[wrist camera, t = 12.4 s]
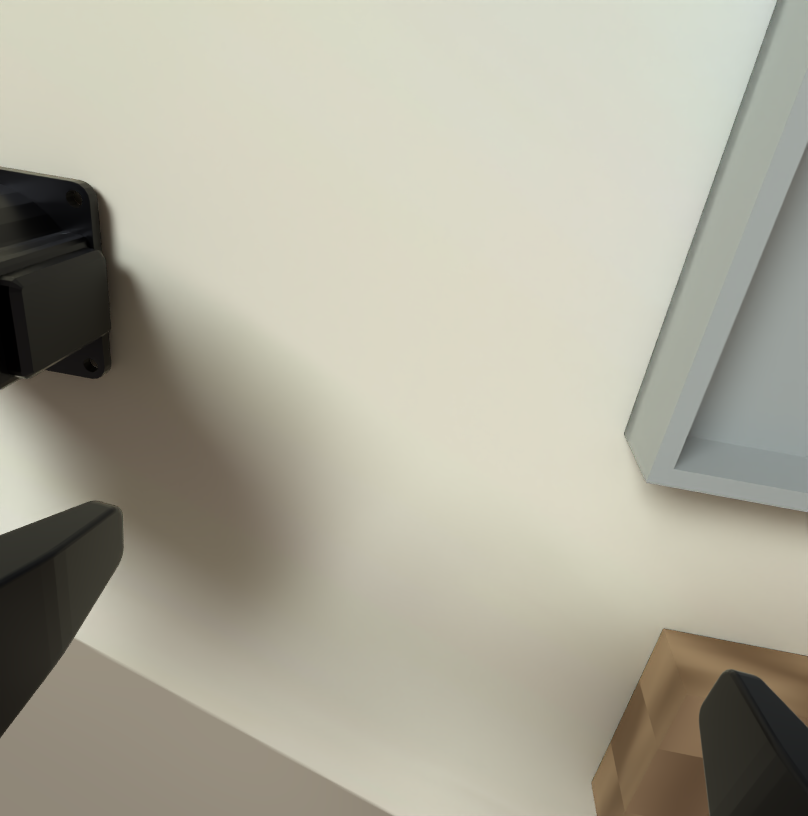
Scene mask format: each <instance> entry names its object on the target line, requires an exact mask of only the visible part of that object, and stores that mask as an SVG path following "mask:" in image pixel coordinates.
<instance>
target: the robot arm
mask: <svg viewBox="0 0 808 816" xmlns="http://www.w3.org/2000/svg"><path fill="white" fill-rule="evenodd" d="M75 191H77V192H78V193H79V194H80V195H81V198H82V205H79V204H78V203H77V202H76V201H75V198H74V192H75ZM110 329H111V320H110V308H109V296H108V283H107V271H106V259H105V257H104V256H103V254H102V249H101V237H100V225H99V213H98V201H97V196H96V193H95V191H94V190H93V188H92V187H91V186H90V185H89V184H88V183H86V182H84V181H81V180H76V179H70V178H64V177H58V176H53V175H47V174H41V173H35V172H29V171H23V170H17V169H11V168H5V167H0V390H1V389H3V388H5V387H7V386H8V385H10V384H12V383H14V382H15V381H17V380H19V379H21V378H24V379H28V378H31V377H33V376H35V375H37V374H38V373H40V372H42V371H43V370H48V371H54V372H59V373H64V374H70V375H75V376H81V377H86V378H92V379H94V378H99V377H101V376H103V375H104V374H106V373H107V372H108V371H109V370H110V367H111V357H110V345H109V333H108V331H110ZM90 359H93V360H94V361H95V362H96V363H97V366H98V368H97V367H95V366H93V365H92V364H91V361H90ZM123 548H124V545H123V515H122V511H121V509H120V508H119V507H117V506H115V505H111V504H107V503H104V502H100V501H90V502H87V503H84V504H81V505H79V506H76V507H73V508H71V509H68V510H66V511H63V512H60V513H58V514H55V515H52V516H50V517H47V518H44V519H42V520H39V521H36V522H34V523H31V524H29V525H26V526H23V527H21V528H18V529H15V530H13V531H10V532H7V533H5V534H2V535H0V738H1V736H2V735H3V734H4V732H5V731H6V729H7V728H8V727H9V726H10V724H11V723H12V722H13V720H14V719H15V718H16V717H17V715H18V714H19V713H20V711H21V710H22V709H23V707H24V706H25V705H26V703H27V702H28V701H29V700H30V698H31V697H32V696H33V694H34V693H35V691H36V690H37V689H38V688H39V686H40V685H41V684H42V682H43V681H44V680H45V679H46V677H47V676H48V674H49V673H50V672H51V670H52V669H53V668H54V667H55V665H56V664H57V662H58V661H59V660H60V658H61V657H62V655H63V654H64V653H65V651H66V649H67V648H68V646H69V644H70V643H71V642H72V640H73V639H74V637H75V635H76V634H77V632H78V630H79V629H80V627H81V626H82V624H83V622H84V621H85V619H86V617H87V616H88V614H89V612H90V611H91V609H92V608H93V606H94V604H95V603H96V601H97V599H98V598H99V596H100V594H101V593H102V591H103V590H104V588H105V586H106V585H107V583H108V581H109V580H110V578H111V576H112V575H113V573H114V572H115V570H116V568H117V567H118V565H119V563H120V561H121V558H122V555H123ZM699 730H700V738H701V747H702V756H703V764H704V773H705V782H706V790H707V799H708V808H709V816H808V727H807V726H806V725H805V724H804V723H803V722H802V721H801V720H800V719H799V718H798V717H797V715H796V714H795V713H794V712H793V711H792V710H791V709H790V708H789V707H788V706H787V705H786V704H785V703H784V702H783V701H782V700H781V699H780V698H779V697H778V696H777V695H776V694H775V693H774V692H773V691H772V690H771V688H770V687H769V686H768V685H767V684H766V683H765V682H764V681H763V680H762V679H761V678H759V677H758V676H755V675H753V674H749V673H745V672H742V671H738V670H734V669H727V670H725V671H724V672H722V674H721V675H720V676H719V678H718V679H717V681H716V683H715V684H714V686H713V687H712V689H711V690H710V692H709V694H708V695H707V697H706V698H705V700H704V701H703V703H702V705H701V708H700V711H699Z"/></svg>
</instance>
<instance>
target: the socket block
mask: <svg viewBox="0 0 808 816" xmlns="http://www.w3.org/2000/svg"><path fill="white" fill-rule="evenodd" d="M727 669H734V670H738V671H742V672H745V673H749V674H753V675H755V676H758V677H759V678H761V679H762V680H763V681H764V682H765V683H766V684H767V685H768V686H769V687H770V688H771V690H772V691H773V692H774V693H775V694H776V695H777V696H778V697H779V698H780V699H781V700H782V701H783V702H784V703H785V704H786V705H787V706H788V707H789V708H790V709H791V710H792V711H793V712H794V713H795V714H796V715H797V717H798V718H799V719H800V720H801V721H802V722H803V723H804V724H805V725H806V726H807V727H808V656H803V655H798V654H793V653H787V652H782V651H777V650H772V649H767V648H761V647H756V646H751V645H746V644H741V643H735V642H730V641H725V640H720V639H715V638H710V637H704V636H699V635H694V634H689V633H684V632H678V631H673V630H668V629H663V630H662V633H661V635H660V637H659V639H658V641H657V643H656V645H655V648H654V650H653V652H652V654H651V656H650V658H649V661H648V663H647V665H646V667H645V669H644V671H643V673H642V676H641V678H640V680H639V682H638V684H637V686H636V688H635V691H634V693H633V695H632V697H631V699H630V701H629V703H628V706H627V708H626V710H625V712H624V714H623V716H622V718H621V721H620V723H619V725H618V727H617V729H616V731H615V733H614V736H613V738H612V740H611V742H610V744H609V746H608V748H607V751H606V753H605V755H604V757H603V759H602V761H601V763H600V766H599V768H598V770H597V772H596V774H595V776H594V778H593V781H592V789H593V795H594V801H595V807H596V813H597V816H709V808H708V799H707V790H706V782H705V773H704V764H703V756H702V747H701V738H700V730H699V711H700V708H701V705H702V703H703V701H704V700H705V698H706V697H707V695H708V694H709V692H710V690H711V689H712V687H713V686H714V684H715V683H716V681H717V679H718V678H719V676H720V675H721V674H722V672H724V671H725V670H727Z"/></svg>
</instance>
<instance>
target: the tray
mask: <svg viewBox="0 0 808 816" xmlns="http://www.w3.org/2000/svg"><path fill="white" fill-rule="evenodd" d="M624 435H625V437H626V439H627V442H628V444H629V446H630V448H631V451H632V453H633V455H634V457H635V459H636V462H637V464H638V466H639V468H640V470H641V473H642V475H643V477H644V479H645V482H646V483H651V484H656V485H662V486H667V487H672V488H678V489H683V490H689V491H694V492H700V493H705V494H711V495H716V496H722V497H727V498H733V499H738V500H743V501H749V502H754V503H760V504H765V505H771V506H776V507H782V508H787V509H793V510H798V511H804V512H808V0H777V3H776V6H775V9H774V11H773V14H772V17H771V20H770V23H769V26H768V28H767V31H766V34H765V37H764V40H763V43H762V45H761V48H760V51H759V54H758V57H757V59H756V62H755V65H754V68H753V71H752V74H751V76H750V79H749V82H748V85H747V88H746V91H745V93H744V96H743V99H742V102H741V105H740V107H739V110H738V113H737V116H736V119H735V122H734V124H733V127H732V130H731V133H730V136H729V139H728V141H727V144H726V147H725V150H724V153H723V155H722V158H721V161H720V164H719V167H718V170H717V172H716V175H715V178H714V181H713V184H712V187H711V189H710V192H709V195H708V198H707V201H706V203H705V206H704V209H703V212H702V215H701V218H700V220H699V223H698V226H697V229H696V232H695V235H694V237H693V240H692V243H691V246H690V249H689V252H688V254H687V257H686V260H685V263H684V266H683V268H682V271H681V274H680V277H679V280H678V283H677V285H676V288H675V291H674V294H673V297H672V300H671V302H670V305H669V308H668V311H667V314H666V316H665V319H664V322H663V325H662V328H661V331H660V333H659V336H658V339H657V342H656V345H655V348H654V350H653V353H652V356H651V359H650V362H649V364H648V367H647V370H646V373H645V376H644V379H643V381H642V384H641V387H640V390H639V393H638V396H637V398H636V401H635V404H634V407H633V410H632V412H631V415H630V418H629V421H628V424H627V427H626V429H625V432H624Z"/></svg>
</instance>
